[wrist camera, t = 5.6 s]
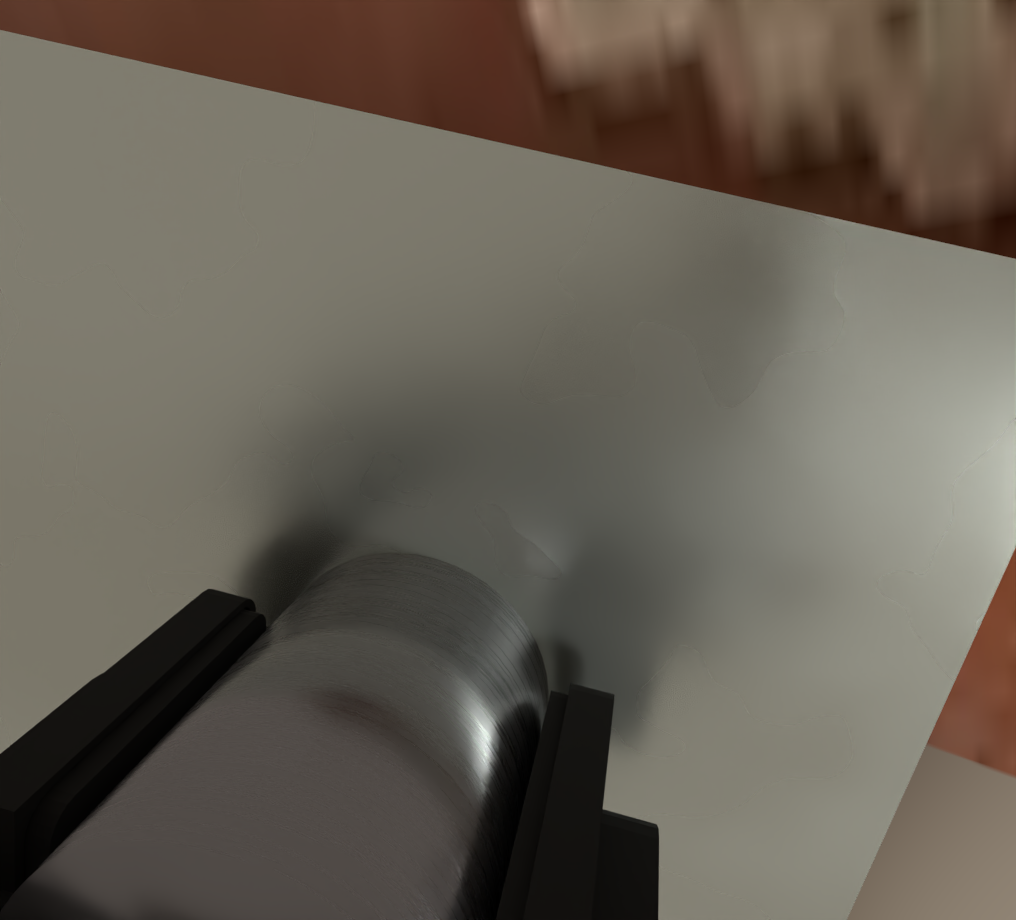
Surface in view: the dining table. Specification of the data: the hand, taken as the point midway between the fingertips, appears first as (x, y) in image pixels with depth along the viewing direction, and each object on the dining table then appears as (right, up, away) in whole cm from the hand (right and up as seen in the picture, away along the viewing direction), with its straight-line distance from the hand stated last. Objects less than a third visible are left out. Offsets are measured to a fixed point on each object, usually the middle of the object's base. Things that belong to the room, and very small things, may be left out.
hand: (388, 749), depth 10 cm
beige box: (+3, +6, +18) cm, 19 cm away
